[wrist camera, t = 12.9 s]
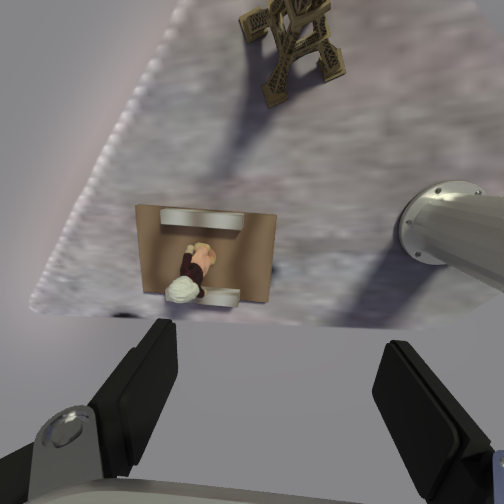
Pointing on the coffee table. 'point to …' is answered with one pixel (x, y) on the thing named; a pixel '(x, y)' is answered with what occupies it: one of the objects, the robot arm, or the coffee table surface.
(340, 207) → the coffee table surface
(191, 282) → the grandmother figurine
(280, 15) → the eiffel tower
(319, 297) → the coffee table surface
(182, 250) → the board
